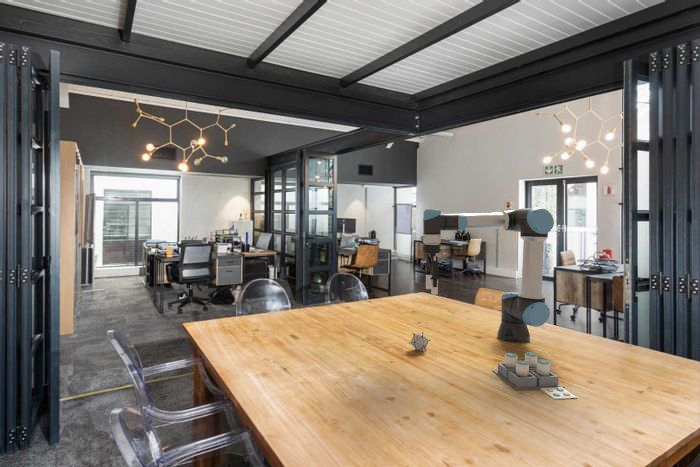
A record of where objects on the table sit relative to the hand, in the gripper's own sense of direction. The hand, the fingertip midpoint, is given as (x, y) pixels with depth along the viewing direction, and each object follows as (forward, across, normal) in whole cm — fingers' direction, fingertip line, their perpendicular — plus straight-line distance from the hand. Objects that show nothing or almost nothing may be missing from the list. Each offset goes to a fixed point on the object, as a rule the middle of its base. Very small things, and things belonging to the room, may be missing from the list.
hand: (431, 291), depth 179 cm
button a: (+24, +34, +26) cm, 49 cm away
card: (+27, +42, +35) cm, 61 cm away
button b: (+24, +26, +25) cm, 44 cm away
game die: (+27, -2, -5) cm, 28 cm away
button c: (+24, +33, +34) cm, 54 cm away
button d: (+24, +25, +33) cm, 48 cm away
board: (+27, +30, +30) cm, 50 cm away
